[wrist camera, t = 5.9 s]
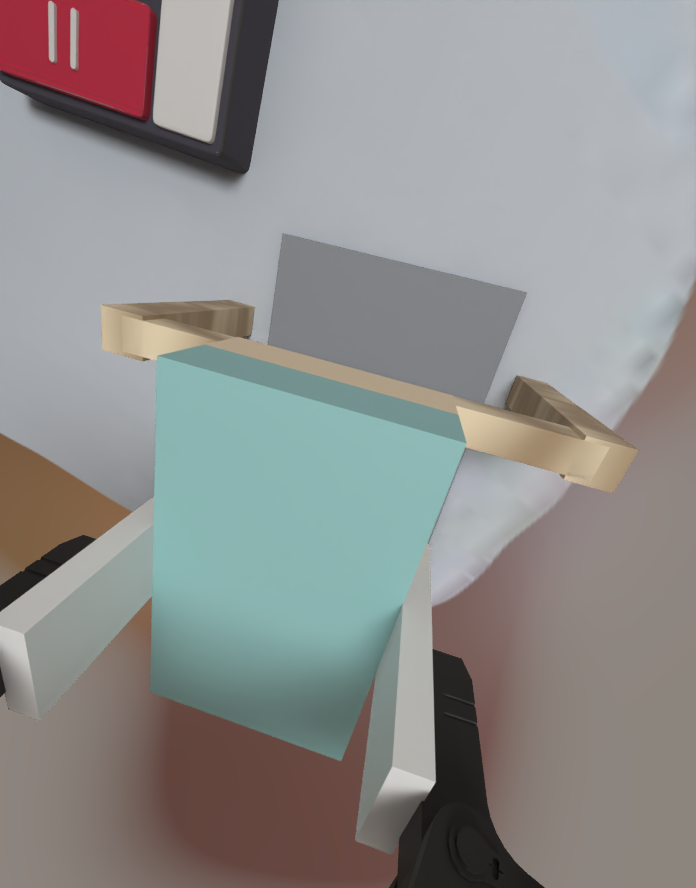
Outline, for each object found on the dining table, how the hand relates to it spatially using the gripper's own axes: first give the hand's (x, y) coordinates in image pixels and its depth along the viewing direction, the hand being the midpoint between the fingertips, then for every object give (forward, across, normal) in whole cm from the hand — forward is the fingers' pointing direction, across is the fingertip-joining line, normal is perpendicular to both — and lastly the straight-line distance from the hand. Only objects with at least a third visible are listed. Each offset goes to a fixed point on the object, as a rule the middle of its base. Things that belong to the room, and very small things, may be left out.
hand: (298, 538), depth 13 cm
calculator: (+17, -18, +19) cm, 31 cm away
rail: (+17, 0, +4) cm, 17 cm away
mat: (+17, 0, -2) cm, 17 cm away
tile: (+1, 0, 0) cm, 1 cm away
